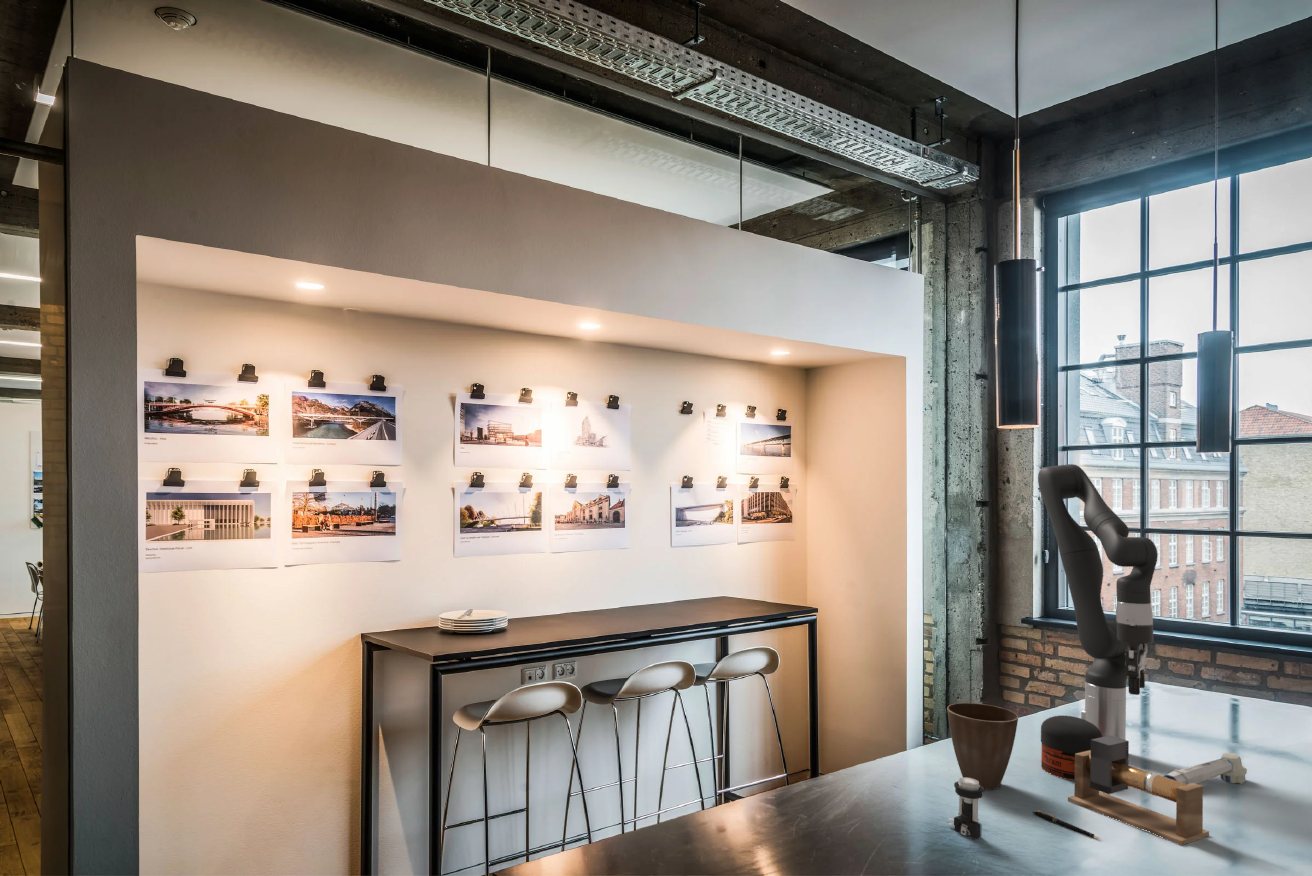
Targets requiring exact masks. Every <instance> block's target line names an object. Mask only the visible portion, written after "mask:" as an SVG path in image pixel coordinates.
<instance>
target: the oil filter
mask: <svg viewBox="0 0 1312 876" xmlns="http://www.w3.org/2000/svg"><path fill="white" fill-rule="evenodd" d="M1101 737H1102V734H1101V731H1100V730H1099V729H1098V728H1097V727H1096V726H1095V725H1094V724H1092V723H1090V722H1089V721H1086V720H1084V719H1081V717H1077V716H1071V715H1054V716H1050V717H1048V718H1046V719H1045V720H1043V722H1042V724H1041V725H1040V742H1041V756H1040V757H1041V760H1040V762H1041V763H1040V765H1041V766H1040V767H1042V768H1041V769H1042V770H1043V771H1044V770H1045V771H1044V772H1046V773H1047V772H1048V773H1047V774H1049V773H1051V774H1050V775H1052V776H1054V775H1055V776H1054V777H1057V776H1058V778H1060V777H1062V778H1061V779H1064V778H1066V779H1065V780H1068V779H1070V781H1074V782H1075V754H1076V753H1081V752H1085V751H1089V750H1091V740H1092V739H1096V738H1101Z"/></svg>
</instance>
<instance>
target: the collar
mask: <svg viewBox="0 0 1312 876" xmlns="http://www.w3.org/2000/svg"><path fill="white" fill-rule="evenodd" d="M1129 749H1130V748H1129V740H1124V739H1120V738H1117V737H1114V736H1105V737H1101V738H1096V739H1092V740H1091V765H1090V788H1093V789H1095V790H1098V791H1100V792H1103V793H1106V794H1108V795H1111V794H1115V793H1118V792H1122V791H1125V790H1126V791H1127V790H1129V786H1127V785H1124V784H1121V783H1119V782H1116V781H1113V780H1111V779H1112V761H1117V762H1120V763H1123V764H1126V765H1129V757H1130V756H1129V755H1130V754H1129V751H1130V750H1129Z"/></svg>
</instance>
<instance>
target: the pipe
mask: <svg viewBox="0 0 1312 876" xmlns="http://www.w3.org/2000/svg"><path fill="white" fill-rule="evenodd" d="M1090 765H1091V754H1090V755H1089V756H1088V757H1087V759H1086V769H1087V771H1088V772H1090ZM1163 776H1164V775H1160V774H1158V773H1155V772H1153V771H1152V772H1151V771H1147V770H1144V769H1141V768H1138V767H1135V766H1132V765H1130V764H1128V765H1126V764H1123V763H1120V762H1117V761H1112V779H1111V780H1113V781H1116V782H1119V783H1121V784H1124V785H1127V786H1128V787H1129V788H1130V787H1131V788H1133V789H1136V790H1139V791H1141V792H1145V793H1147V794H1149V795H1152V796H1155V797H1159V798H1162V799H1165V800H1167V801H1171V802H1173V803H1176V789H1177V787H1180V786H1184V785H1187V784H1184V783H1181V782H1178V781H1175V780H1172V779H1169V778H1166V777H1163Z"/></svg>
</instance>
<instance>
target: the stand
mask: <svg viewBox="0 0 1312 876" xmlns="http://www.w3.org/2000/svg"><path fill="white" fill-rule="evenodd" d="M1090 754H1091V750H1089V751H1085V752H1081V753H1076V754H1075V781H1074V795H1072V796H1068V797H1067V802H1070V803H1072V804H1074V805H1077V806H1079V807H1081V808H1084V809H1087V810H1090V811H1092V812H1094V811H1095V813H1097V812H1098V813H1097V814H1100V815H1102V814H1104V815H1103V816H1105V817H1107V816H1109V817H1108V818H1110V817H1111V819H1112V818H1114V819H1113V820H1115V819H1117V820H1116V821H1118V820H1120V821H1122V822H1121V823H1123V822H1124V823H1123V824H1125V823H1127V824H1126V825H1128V824H1130V825H1133V826H1135V827H1138V828H1140V829H1139V830H1141V829H1144V830H1147V831H1150V832H1151V833H1154V834H1156V835H1158V836H1157V837H1159V836H1161V837H1163V838H1162V839H1164V840H1166V839H1168V840H1167V841H1169V840H1170V842H1171V841H1172V843H1174V842H1175V843H1174V844H1177V843H1178V844H1177V845H1179V846H1183V845H1187V844H1189V843H1192V842H1195V841H1198V840H1200V839H1203V838H1206V837H1208V836H1210V831H1209V830H1206V829H1204V828H1203V827H1204V826H1203V825H1204V824H1203V822H1204V821H1203V819H1204V816H1203V813H1204V811H1203V810H1204V803H1203V801H1204V786H1203V785H1201V784H1195V783H1191V784H1187V785H1184V786H1180V787H1177V789H1176V802H1175V803H1176V807H1175V808H1176V809H1175V813H1176V814H1175V818H1174V817H1171V816H1168V815H1165V814H1164V813H1160V812H1157V811H1154V810H1152V809H1149V808H1146V807H1143V806H1141V805H1137V804H1135V803H1133V802H1130V801H1127V800H1125V799H1122V798H1118V797H1116V796H1114V795H1111V794H1106V793H1104V792H1101V791H1098V790H1095V789H1093V788H1090V772H1088V771H1087V769H1086V759H1087V757H1088V756H1089V755H1090ZM1120 821H1119V822H1120ZM1130 825H1129V826H1130ZM1133 826H1132V827H1133ZM1135 827H1134V828H1135ZM1138 828H1137V829H1138ZM1151 833H1150V834H1151ZM1156 835H1155V836H1156ZM1161 837H1160V838H1161ZM1186 843H1187V844H1186Z"/></svg>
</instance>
